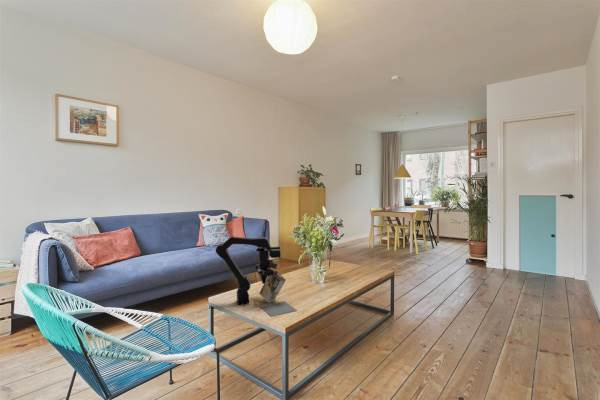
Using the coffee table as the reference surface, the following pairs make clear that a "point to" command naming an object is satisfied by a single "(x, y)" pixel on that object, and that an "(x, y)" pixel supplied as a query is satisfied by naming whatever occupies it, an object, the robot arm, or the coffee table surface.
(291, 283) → the coffee table surface
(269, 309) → the mat
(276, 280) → the coffee box
